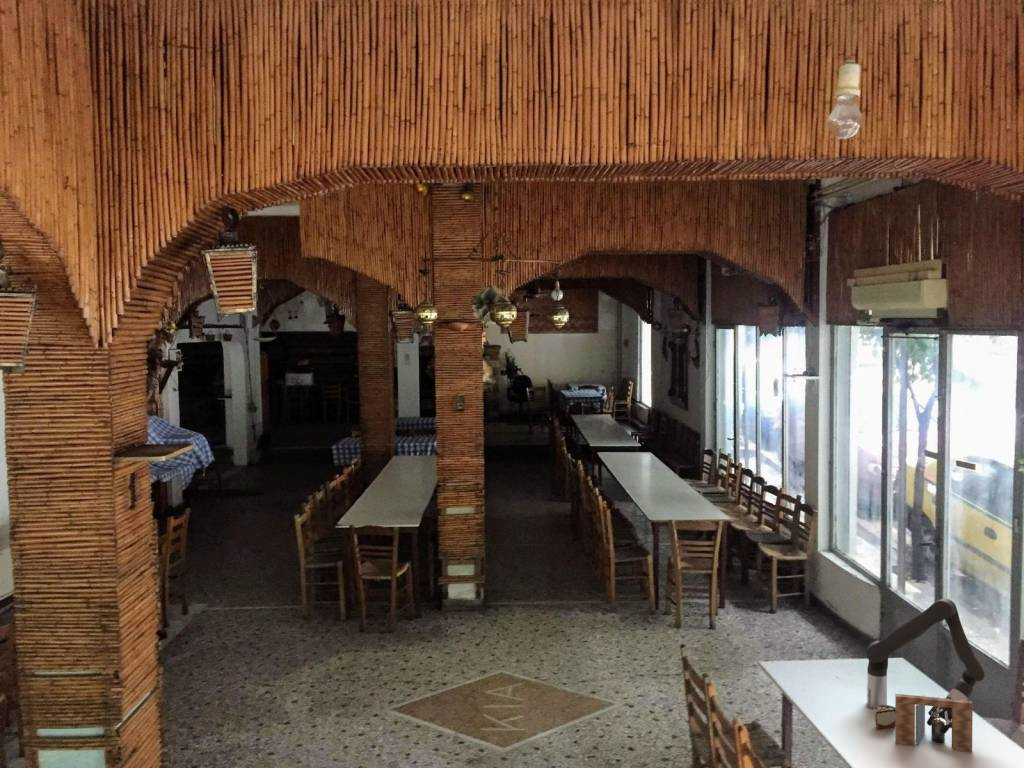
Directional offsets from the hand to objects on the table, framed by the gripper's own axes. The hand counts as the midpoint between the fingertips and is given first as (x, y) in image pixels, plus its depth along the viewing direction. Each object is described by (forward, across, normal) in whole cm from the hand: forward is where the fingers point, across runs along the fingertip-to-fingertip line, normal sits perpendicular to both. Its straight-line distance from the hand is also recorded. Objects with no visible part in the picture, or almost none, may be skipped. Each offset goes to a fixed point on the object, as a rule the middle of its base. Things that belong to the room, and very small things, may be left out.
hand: (935, 728), depth 399 cm
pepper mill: (+3, 0, +6) cm, 6 cm away
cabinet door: (+7, -5, +1) cm, 9 cm away
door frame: (+8, +4, +1) cm, 9 cm away
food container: (+13, -20, -4) cm, 25 cm away
